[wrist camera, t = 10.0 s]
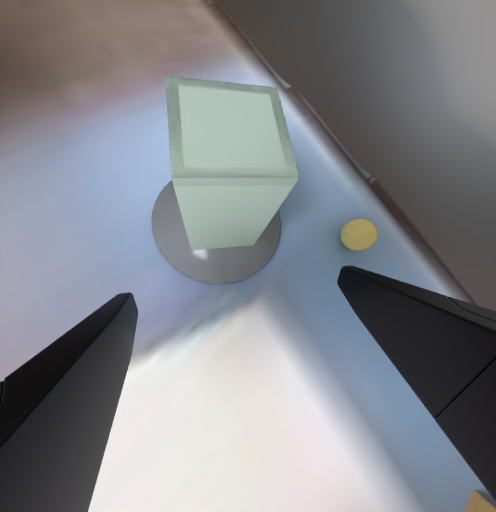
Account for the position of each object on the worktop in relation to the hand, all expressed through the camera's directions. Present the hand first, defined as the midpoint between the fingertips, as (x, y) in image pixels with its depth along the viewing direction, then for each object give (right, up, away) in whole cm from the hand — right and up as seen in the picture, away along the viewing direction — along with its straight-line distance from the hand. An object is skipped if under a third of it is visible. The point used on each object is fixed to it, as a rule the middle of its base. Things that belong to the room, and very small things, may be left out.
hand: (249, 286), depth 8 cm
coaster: (-3, +4, +9) cm, 10 cm away
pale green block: (-3, +4, +9) cm, 10 cm away
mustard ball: (+10, +3, +11) cm, 15 cm away
